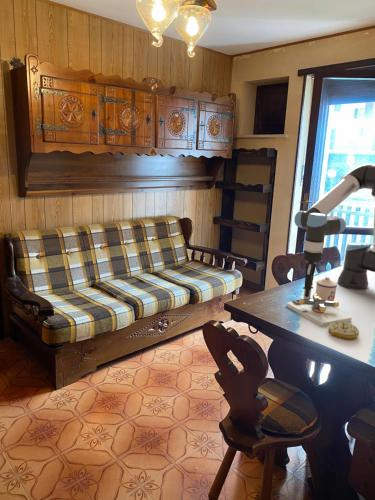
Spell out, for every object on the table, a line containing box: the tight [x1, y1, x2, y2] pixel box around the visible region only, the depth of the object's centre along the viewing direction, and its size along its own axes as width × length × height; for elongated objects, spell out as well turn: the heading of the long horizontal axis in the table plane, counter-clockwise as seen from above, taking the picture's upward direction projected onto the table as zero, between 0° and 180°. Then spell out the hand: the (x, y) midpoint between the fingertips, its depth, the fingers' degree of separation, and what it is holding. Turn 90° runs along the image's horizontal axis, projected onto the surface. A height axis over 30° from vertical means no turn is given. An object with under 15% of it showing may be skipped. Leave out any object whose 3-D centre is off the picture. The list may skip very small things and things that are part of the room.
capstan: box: [299, 293, 340, 313], centre depth 165 cm, size 17×17×5 cm
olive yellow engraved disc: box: [328, 322, 360, 341], centre depth 147 cm, size 10×11×4 cm
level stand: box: [286, 297, 352, 327], centre depth 166 cm, size 16×22×3 cm
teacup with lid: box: [314, 276, 338, 301], centre depth 181 cm, size 12×9×12 cm
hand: (306, 302), depth 168 cm, fingers closed
